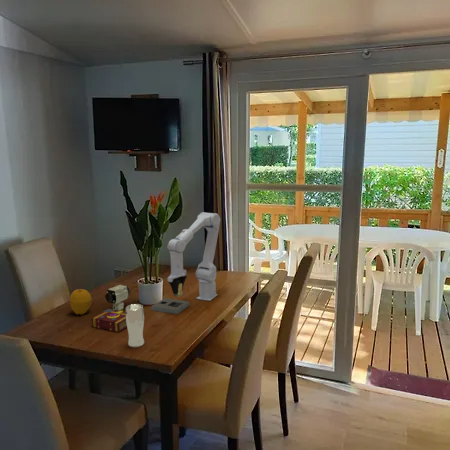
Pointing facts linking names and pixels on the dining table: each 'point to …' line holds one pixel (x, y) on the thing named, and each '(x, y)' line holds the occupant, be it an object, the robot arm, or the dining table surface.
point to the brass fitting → (179, 290)
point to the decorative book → (110, 320)
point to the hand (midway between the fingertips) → (177, 292)
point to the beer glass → (135, 324)
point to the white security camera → (117, 296)
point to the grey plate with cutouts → (170, 306)
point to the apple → (80, 301)
